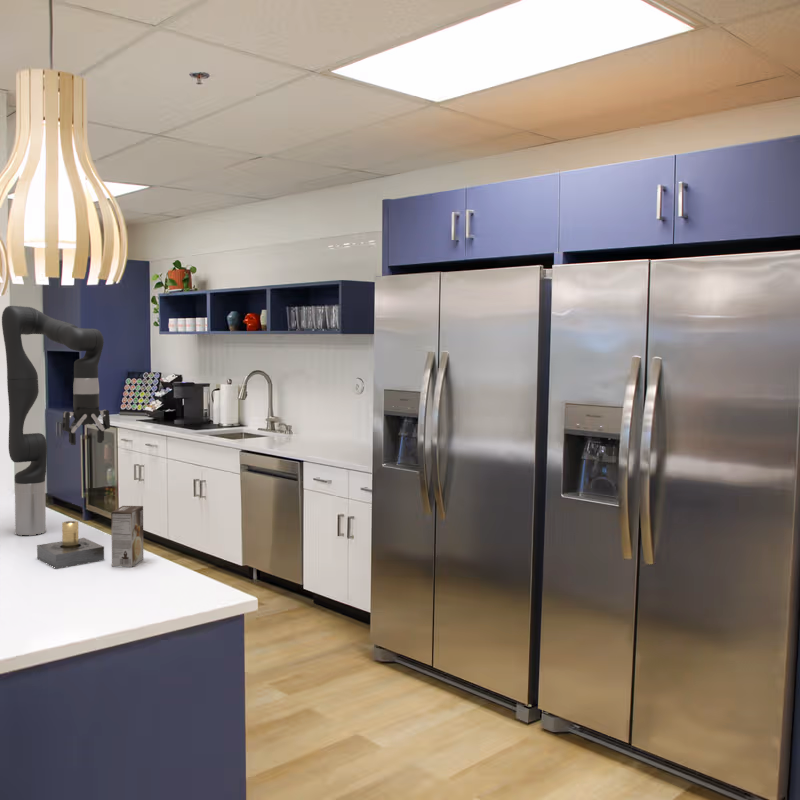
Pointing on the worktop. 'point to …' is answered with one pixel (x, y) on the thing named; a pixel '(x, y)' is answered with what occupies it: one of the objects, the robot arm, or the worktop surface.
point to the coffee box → (127, 535)
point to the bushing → (70, 534)
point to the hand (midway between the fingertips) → (86, 443)
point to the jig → (70, 553)
